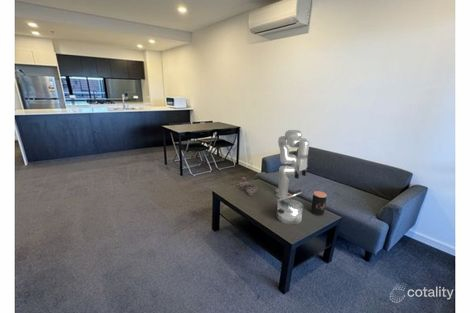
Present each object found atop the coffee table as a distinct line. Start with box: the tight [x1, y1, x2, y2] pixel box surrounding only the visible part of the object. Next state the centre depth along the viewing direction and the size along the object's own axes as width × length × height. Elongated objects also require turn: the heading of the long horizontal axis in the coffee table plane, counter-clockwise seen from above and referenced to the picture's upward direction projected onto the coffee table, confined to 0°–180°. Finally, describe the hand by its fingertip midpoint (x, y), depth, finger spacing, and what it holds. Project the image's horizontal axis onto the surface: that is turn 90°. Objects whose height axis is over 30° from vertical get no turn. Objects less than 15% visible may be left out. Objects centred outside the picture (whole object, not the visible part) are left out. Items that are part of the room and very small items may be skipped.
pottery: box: [238, 176, 258, 196], centre depth 228 cm, size 11×25×12 cm, turn 31°
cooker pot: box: [276, 198, 304, 226], centre depth 181 cm, size 21×26×12 cm
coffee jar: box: [310, 190, 328, 216], centre depth 189 cm, size 11×11×18 cm
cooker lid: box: [276, 189, 303, 202], centre depth 179 cm, size 21×21×3 cm
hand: (300, 176), depth 177 cm, fingers open, 9 cm apart
